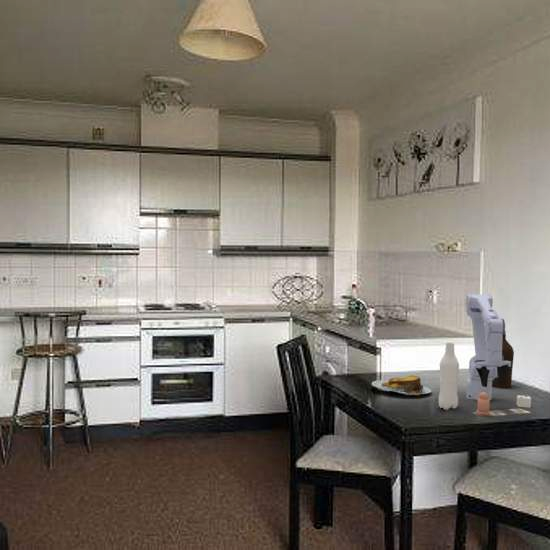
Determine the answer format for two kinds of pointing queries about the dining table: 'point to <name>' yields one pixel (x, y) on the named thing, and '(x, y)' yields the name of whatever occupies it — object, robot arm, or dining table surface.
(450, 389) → the water bottle
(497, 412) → the board
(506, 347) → the olive oil
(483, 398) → the pawn
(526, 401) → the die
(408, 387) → the food on plate
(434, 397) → the dining table surface
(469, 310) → the robot arm
